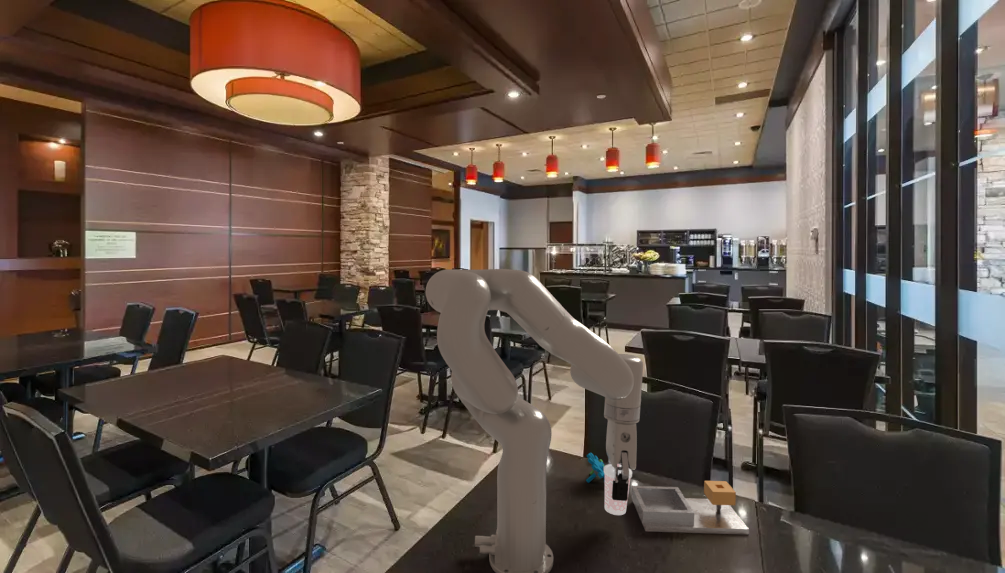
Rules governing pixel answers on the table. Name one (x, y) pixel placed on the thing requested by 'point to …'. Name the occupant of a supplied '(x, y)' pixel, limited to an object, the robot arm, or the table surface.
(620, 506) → the beverage cup
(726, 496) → the amber wooden brick
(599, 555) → the table surface
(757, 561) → the table surface
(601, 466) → the blue lobed piece
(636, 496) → the gray tray
